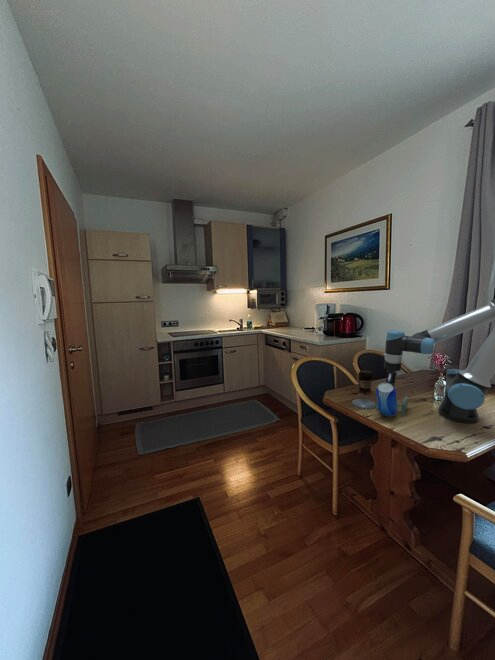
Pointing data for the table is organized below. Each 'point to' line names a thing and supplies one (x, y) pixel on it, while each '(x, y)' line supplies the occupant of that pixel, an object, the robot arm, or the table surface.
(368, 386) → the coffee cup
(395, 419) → the table surface
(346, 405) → the table surface
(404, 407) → the rack
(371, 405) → the flat grey disc
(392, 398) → the beer can
